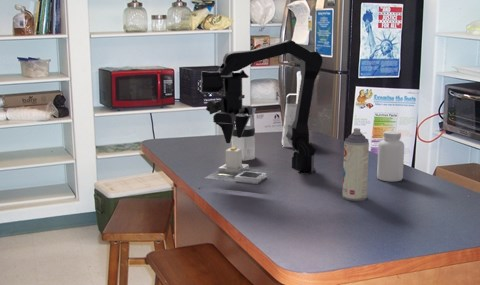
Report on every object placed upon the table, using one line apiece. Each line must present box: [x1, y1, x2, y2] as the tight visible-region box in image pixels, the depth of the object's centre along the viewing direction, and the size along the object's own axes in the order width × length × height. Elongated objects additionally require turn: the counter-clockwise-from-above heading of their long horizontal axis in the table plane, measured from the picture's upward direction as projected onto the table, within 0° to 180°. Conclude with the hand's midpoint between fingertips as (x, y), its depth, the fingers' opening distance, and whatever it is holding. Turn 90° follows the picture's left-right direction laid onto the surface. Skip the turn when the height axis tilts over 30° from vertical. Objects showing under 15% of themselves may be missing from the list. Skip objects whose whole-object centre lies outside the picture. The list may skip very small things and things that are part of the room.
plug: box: [225, 146, 243, 169], centre depth 203 cm, size 4×4×8 cm
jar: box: [231, 125, 256, 162], centre depth 220 cm, size 9×8×12 cm
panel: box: [204, 163, 277, 185], centre depth 198 cm, size 18×16×3 cm
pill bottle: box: [376, 130, 405, 183], centre depth 196 cm, size 8×8×15 cm
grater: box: [281, 93, 311, 148], centre depth 246 cm, size 10×10×20 cm
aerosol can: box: [342, 127, 370, 202], centre depth 176 cm, size 7×7×20 cm
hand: (233, 140), depth 201 cm, fingers open, 9 cm apart
